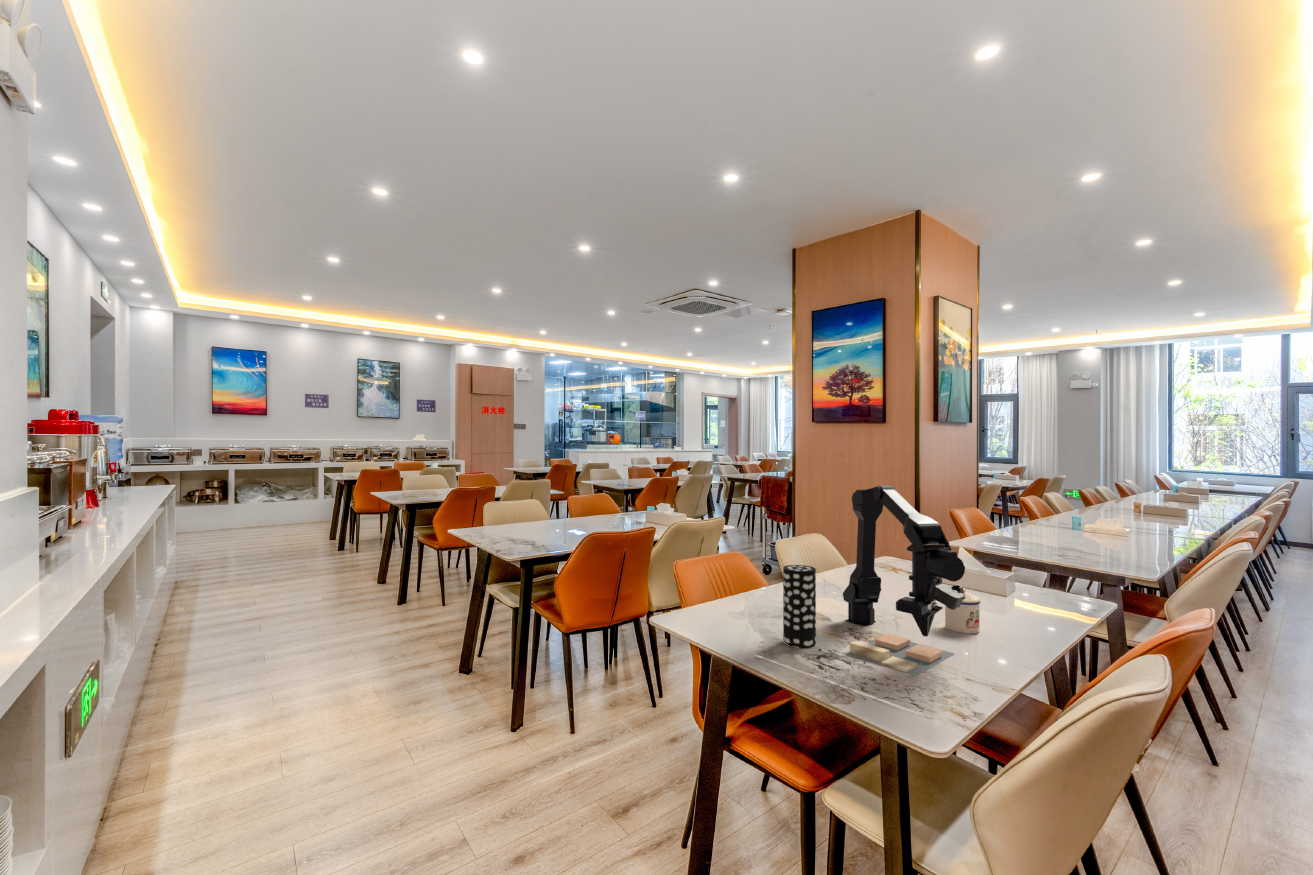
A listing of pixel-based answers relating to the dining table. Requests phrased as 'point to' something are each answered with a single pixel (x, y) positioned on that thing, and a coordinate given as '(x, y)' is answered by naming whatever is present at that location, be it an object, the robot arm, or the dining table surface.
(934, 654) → the tile right
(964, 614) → the teacup with lid
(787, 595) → the spotted tube
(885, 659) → the cream stepped block
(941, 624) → the dining table surface
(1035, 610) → the dining table surface
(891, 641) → the tile left
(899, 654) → the mat
